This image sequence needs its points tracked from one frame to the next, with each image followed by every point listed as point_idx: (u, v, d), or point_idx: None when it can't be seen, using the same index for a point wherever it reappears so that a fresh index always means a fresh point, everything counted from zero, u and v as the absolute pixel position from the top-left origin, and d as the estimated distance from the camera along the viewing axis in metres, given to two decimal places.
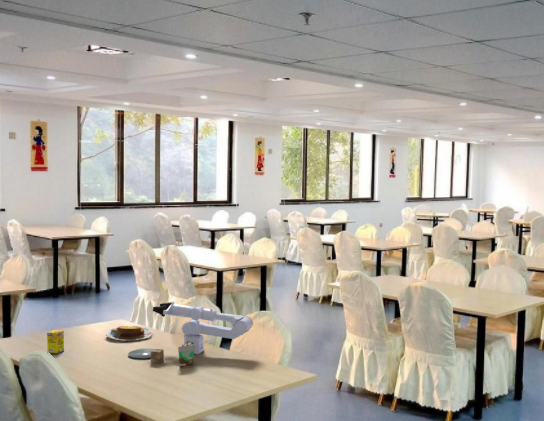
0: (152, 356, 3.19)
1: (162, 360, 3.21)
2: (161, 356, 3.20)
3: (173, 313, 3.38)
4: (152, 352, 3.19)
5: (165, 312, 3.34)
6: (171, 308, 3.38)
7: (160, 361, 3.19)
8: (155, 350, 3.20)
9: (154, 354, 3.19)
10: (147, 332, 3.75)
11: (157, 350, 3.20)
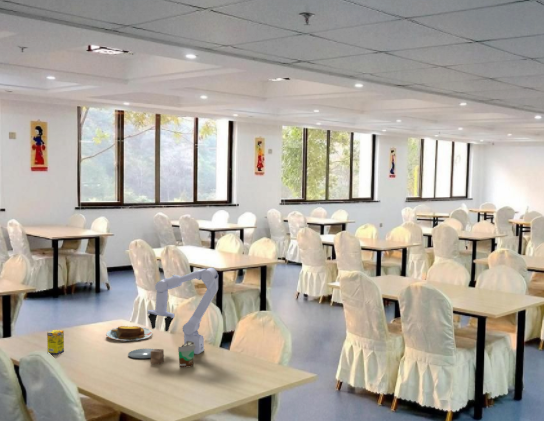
0: (152, 356, 3.19)
1: (162, 360, 3.21)
2: (161, 356, 3.20)
3: (166, 309, 3.41)
4: (152, 352, 3.19)
5: (173, 315, 3.39)
6: (164, 312, 3.39)
7: (160, 361, 3.19)
8: (155, 350, 3.21)
9: (154, 354, 3.19)
10: (147, 332, 3.75)
11: (157, 350, 3.20)
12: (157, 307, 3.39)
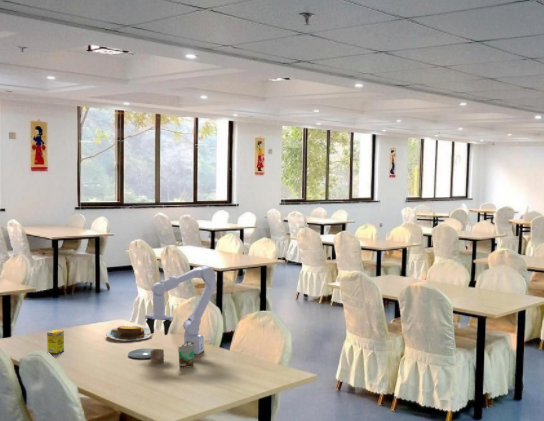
0: (152, 356, 3.19)
1: (162, 360, 3.21)
2: (161, 356, 3.20)
3: (164, 312, 3.33)
4: (152, 352, 3.19)
5: (172, 318, 3.31)
6: (162, 315, 3.31)
7: (160, 361, 3.19)
8: (155, 350, 3.21)
9: (154, 354, 3.19)
10: (147, 332, 3.75)
11: (157, 350, 3.20)
12: (155, 311, 3.31)
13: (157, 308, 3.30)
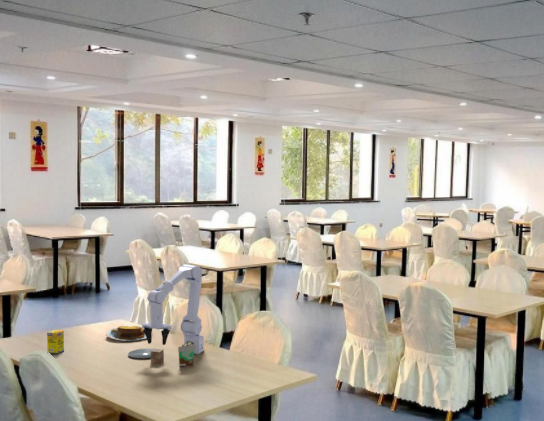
0: (152, 356, 3.19)
1: (162, 360, 3.21)
2: (161, 356, 3.20)
3: (162, 321, 3.20)
4: (152, 352, 3.19)
5: (170, 327, 3.18)
6: (160, 325, 3.18)
7: (160, 361, 3.19)
8: (155, 350, 3.21)
9: (154, 354, 3.19)
10: None
11: (157, 350, 3.20)
12: (152, 320, 3.17)
13: (155, 317, 3.17)
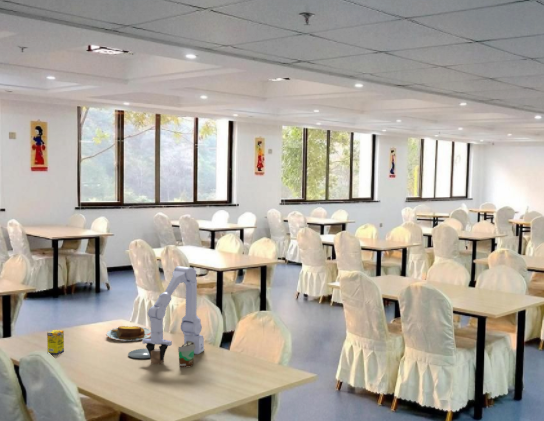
0: (152, 356, 3.19)
1: (162, 360, 3.21)
2: None
3: (162, 336, 3.21)
4: (152, 352, 3.19)
5: (170, 342, 3.18)
6: (160, 340, 3.18)
7: (160, 361, 3.19)
8: (155, 350, 3.20)
9: (154, 354, 3.19)
10: (147, 332, 3.75)
11: (157, 350, 3.20)
12: (152, 335, 3.18)
13: (155, 332, 3.17)
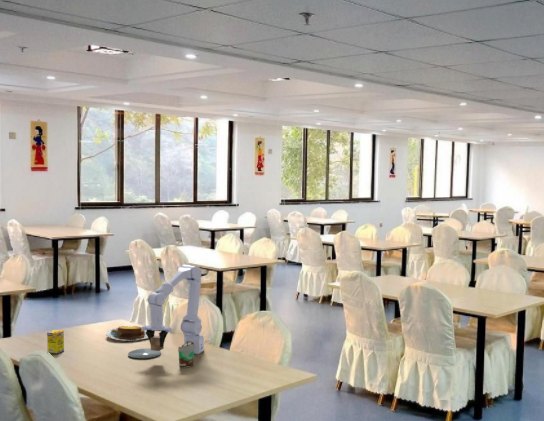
0: (152, 343, 3.19)
1: (162, 347, 3.21)
2: None
3: (162, 323, 3.20)
4: (152, 339, 3.19)
5: (170, 329, 3.18)
6: (160, 327, 3.18)
7: (160, 348, 3.19)
8: (155, 337, 3.20)
9: (153, 340, 3.18)
10: None
11: (157, 337, 3.20)
12: (152, 322, 3.17)
13: (155, 319, 3.17)
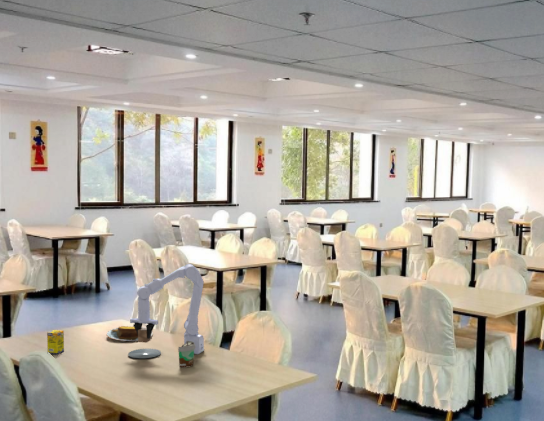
0: (139, 335, 3.32)
1: (149, 339, 3.34)
2: None
3: (149, 316, 3.33)
4: (139, 331, 3.31)
5: (157, 321, 3.31)
6: (147, 319, 3.31)
7: (147, 339, 3.32)
8: (142, 329, 3.33)
9: (141, 332, 3.31)
10: None
11: (144, 329, 3.33)
12: (140, 315, 3.30)
13: (142, 312, 3.30)
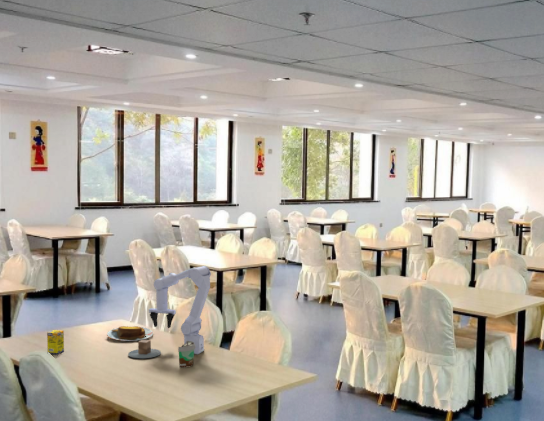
0: (139, 346, 3.32)
1: (149, 350, 3.34)
2: (148, 346, 3.33)
3: (167, 306, 3.48)
4: (139, 343, 3.32)
5: (174, 311, 3.45)
6: (165, 309, 3.45)
7: (147, 351, 3.32)
8: (142, 341, 3.33)
9: (141, 344, 3.32)
10: (148, 332, 3.75)
11: (145, 341, 3.33)
12: (158, 305, 3.45)
13: (160, 302, 3.44)
